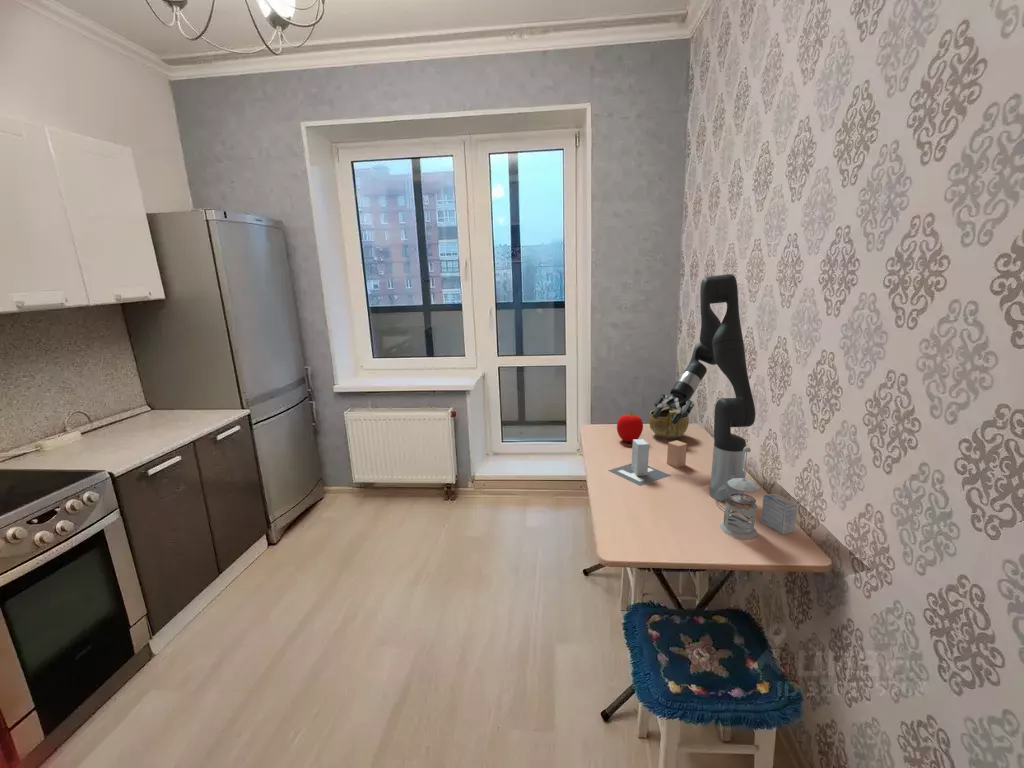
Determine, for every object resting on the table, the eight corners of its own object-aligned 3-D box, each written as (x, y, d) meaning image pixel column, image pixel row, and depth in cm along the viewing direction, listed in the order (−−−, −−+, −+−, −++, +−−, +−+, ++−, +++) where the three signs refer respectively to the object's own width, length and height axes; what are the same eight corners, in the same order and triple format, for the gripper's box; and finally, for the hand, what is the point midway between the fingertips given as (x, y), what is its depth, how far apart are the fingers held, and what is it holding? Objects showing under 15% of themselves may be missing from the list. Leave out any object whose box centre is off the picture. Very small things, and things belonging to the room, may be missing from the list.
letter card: (671, 476, 169) (671, 475, 169) (640, 487, 161) (640, 485, 161) (637, 462, 183) (637, 461, 182) (607, 471, 174) (607, 470, 174)
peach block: (685, 466, 179) (687, 443, 177) (676, 468, 176) (678, 446, 174) (675, 462, 183) (676, 440, 181) (666, 464, 180) (668, 442, 178)
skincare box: (647, 475, 169) (649, 444, 167) (636, 476, 169) (638, 444, 166) (641, 469, 175) (643, 438, 172) (630, 469, 175) (632, 439, 172)
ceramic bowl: (691, 446, 199) (694, 412, 196) (650, 444, 203) (652, 410, 199) (682, 430, 221) (685, 399, 218) (645, 428, 224) (647, 398, 221)
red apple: (619, 446, 201) (620, 417, 198) (613, 437, 211) (615, 410, 208) (645, 445, 201) (647, 417, 198) (638, 437, 211) (640, 410, 208)
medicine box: (794, 532, 132) (798, 504, 130) (782, 535, 130) (785, 506, 128) (772, 519, 139) (775, 492, 137) (760, 521, 138) (763, 494, 136)
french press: (756, 542, 127) (767, 455, 121) (711, 531, 133) (718, 448, 127) (758, 525, 135) (768, 444, 130) (715, 516, 141) (722, 437, 135)
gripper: (666, 377, 181) (644, 410, 178) (698, 383, 169) (674, 419, 166) (674, 388, 185) (652, 421, 182) (706, 396, 173) (683, 430, 170)
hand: (663, 420), depth 174 cm, fingers open, 8 cm apart
